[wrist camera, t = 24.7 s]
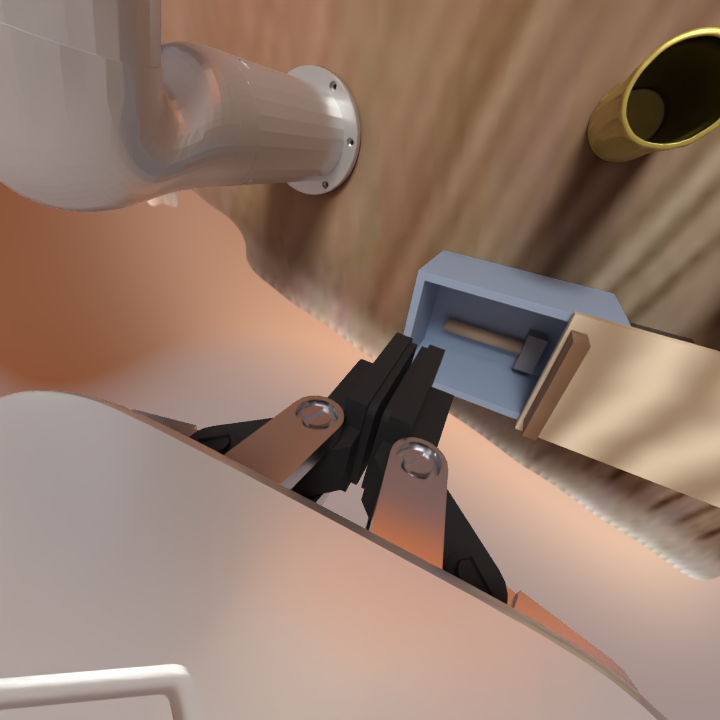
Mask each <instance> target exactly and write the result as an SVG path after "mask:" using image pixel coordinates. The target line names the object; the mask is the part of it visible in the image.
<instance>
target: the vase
mask: <svg viewBox="0 0 720 720" xmlns="http://www.w3.org/2000/svg"><path fill="white" fill-rule="evenodd" d="M719 125H720V28H719V27H703V28H698V29H694V30H691V31H688V32H685V33H683V34H680V35H678V36H676V37H674V38H671V39H670V40H668V41H666V42H665V43H663V44H662V45H661V46H660V47H658V48H657V49H656V50H655V51H654V52H653V53H652V54H651V55H650V56H648V57H647V58H646V59H645V60H644V61H643V62H642V63H641V64H640V65H639V67H638V68H636V69H635V70H634V71H633V73H632V74H631V75H630V76H629V77H628V78H627V79H626V80H625V81H623V82H621V83H619V84H618V85H616V86H615V87H614V88H612V89H611V90H610V91H609V92H608V93H607V94H606V95H605V96H604V97H603V98H602V99H601V100H600V102H599V103H598V105H597V106H596V108H595V109H594V111H593V113H592V116H591V118H590V121H589V125H588V141H589V144H590V147H591V149H592V150H593V152H594V153H595V154H596V155H597V156H598V157H600V158H601V159H603V160H606V161H610V162H626V161H631V160H634V159H637V158H639V157H642V156H643V155H645V154H648V153H653V152H657V151H665V150H669V149H673V148H680V147H685V146H688V145H690V144H692V143H693V142H695V141H697V140H699V139H700V138H702V137H703V136H705V135H707V134H708V133H710V132H711V131H713V130H714V129H715V128H717V127H718V126H719Z"/></svg>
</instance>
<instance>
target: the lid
mask: <svg viewBox="0 0 720 720" xmlns="http://www.w3.org/2000/svg"><path fill="white" fill-rule="evenodd" d="M515 429H518V430H520V431H522V436H524V437H526V438H529V439H532V440H534V441H536V440H537V438H541V439H544V440H546V441H549V442H551V443H554V444H557V445H559V446H562V447H564V448H567V449H569V450H572V451H575V452H577V453H580V454H582V455H585V456H587V457H590V458H593V459H595V460H598V461H600V462H603V463H606V464H608V465H611V466H613V467H616V468H618V469H621V470H624V471H626V472H629V473H631V474H634V475H637V476H639V477H642V478H644V479H647V480H649V481H652V482H655V483H657V484H660V485H662V486H665V487H668V488H670V489H673V490H675V491H678V492H680V493H683V494H686V495H688V496H691V497H693V498H696V499H698V500H701V501H704V502H706V503H709V504H711V505H714V506H717V507H719V508H720V351H717V350H713V349H710V348H706V347H703V346H699V345H695V344H692V343H688V342H685V341H681V340H677V339H674V338H670V337H667V336H663V335H659V334H656V333H652V332H649V331H645V330H641V329H638V328H634V327H630V326H627V325H623V324H620V323H616V322H612V321H609V320H605V319H602V318H598V317H594V316H591V315H587V314H584V313H580V312H576V311H574V313H573V315H572V317H571V319H570V321H569V323H568V325H567V326H566V328H565V330H564V332H563V334H562V336H561V338H560V340H559V342H558V344H557V346H556V348H555V349H554V351H553V353H552V355H551V357H550V359H549V361H548V363H547V365H546V367H545V369H544V371H543V372H542V374H541V376H540V378H539V380H538V382H537V384H536V386H535V388H534V390H533V392H532V394H531V396H530V397H529V399H528V401H527V403H526V405H525V407H524V409H523V411H522V413H521V415H520V417H519V419H518V420H517V422H516V426H515Z"/></svg>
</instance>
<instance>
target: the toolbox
mask: <svg viewBox="0 0 720 720" xmlns="http://www.w3.org/2000/svg"><path fill="white" fill-rule="evenodd" d="M574 311H576V312H580V313H584V314H587V315H591V316H594V317H598V318H602V319H605V320H609V321H612V322H616V323H620V324H623V325H627V326H630V327H631V325H630V323H629V321H628V319H627V317H626V315H625V314H624V312H623V310H622V308H621V306H620V304H619V302H618V300H617V299H616V297H615V295H614V293H610V292H606V291H602V290H598V289H594V288H590V287H586V286H582V285H578V284H574V283H571V282H567V281H563V280H559V279H555V278H551V277H547V276H543V275H539V274H535V273H531V272H528V271H524V270H520V269H516V268H512V267H508V266H504V265H500V264H496V263H492V262H488V261H485V260H481V259H477V258H473V257H469V256H465V255H461V254H457V253H453V252H449V251H445V250H443V251H442V252H441V253H439V254H438V255H437V256H436V257H434V258H433V259H432V260H431V261H429V262H428V263H427V264H426V265H424V266H423V267H422V268H421V269H420V270H419V271H418V275H417V280H416V284H415V288H414V292H413V296H412V301H411V305H410V309H409V313H408V317H407V322H406V326H405V330H404V334H403V335H406V336H408V337H411V338H413V341H412V343H415V344H417V348H416V351H415V355H414V358H413V360H414V359H415V357H416V355H417V354H418V352H419V350H420V348H421V347H422V346H423V347H426V348H428V346H429V345H433V346H436V347H439V348H441V349H444V350H445V353H444V356H443V359H442V361H441V364H440V367H439V369H438V372H437V375H436V377H435V380H434V383H433V385H432V387H434V388H437V389H439V390H442V391H444V392H447V393H449V394H452V395H454V396H455V397H458V398H461V399H463V400H466V401H469V402H471V403H474V404H477V405H479V406H482V407H484V408H487V409H490V410H492V411H495V412H498V413H500V414H503V415H506V416H508V417H511V418H513V419H516V420H518V419H519V417H520V415H521V413H522V411H523V409H524V407H525V405H526V403H527V401H528V399H529V397H530V396H531V394H532V392H533V390H534V388H535V386H536V384H537V382H538V380H539V378H540V376H541V374H542V372H543V371H544V369H545V367H546V365H547V363H548V361H549V359H550V357H551V355H552V353H553V351H554V349H555V348H556V346H557V344H558V342H559V340H560V338H561V336H562V334H563V332H564V330H565V328H566V326H567V325H568V323H569V321H570V319H571V317H572V315H573V313H574ZM412 362H413V361H412Z"/></svg>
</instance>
